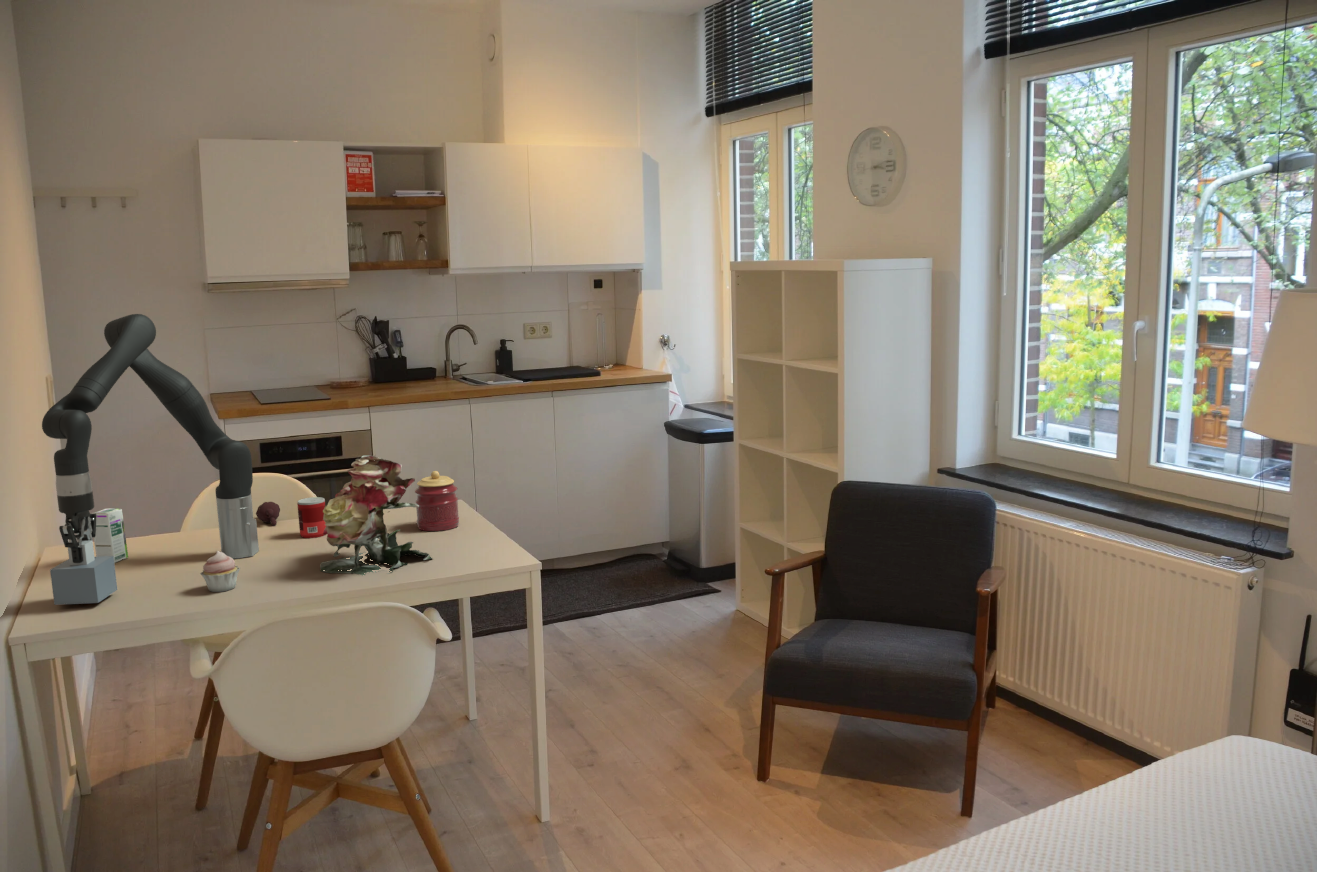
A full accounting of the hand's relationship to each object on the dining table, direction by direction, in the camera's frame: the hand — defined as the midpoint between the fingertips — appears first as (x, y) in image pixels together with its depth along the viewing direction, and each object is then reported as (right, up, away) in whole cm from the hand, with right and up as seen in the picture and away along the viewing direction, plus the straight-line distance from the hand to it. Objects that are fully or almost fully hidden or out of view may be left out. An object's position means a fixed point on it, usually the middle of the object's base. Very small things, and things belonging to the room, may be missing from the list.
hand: (82, 559), depth 247 cm
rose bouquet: (+62, -5, +29) cm, 69 cm away
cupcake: (+30, -9, +10) cm, 33 cm away
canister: (+72, +2, +67) cm, 99 cm away
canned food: (+36, 0, +61) cm, 70 cm away
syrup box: (-14, -5, +38) cm, 41 cm away
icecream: (+15, +2, +79) cm, 80 cm away
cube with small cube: (0, -9, +2) cm, 10 cm away
